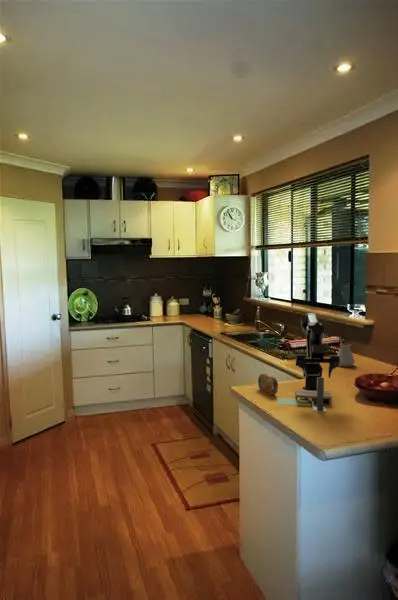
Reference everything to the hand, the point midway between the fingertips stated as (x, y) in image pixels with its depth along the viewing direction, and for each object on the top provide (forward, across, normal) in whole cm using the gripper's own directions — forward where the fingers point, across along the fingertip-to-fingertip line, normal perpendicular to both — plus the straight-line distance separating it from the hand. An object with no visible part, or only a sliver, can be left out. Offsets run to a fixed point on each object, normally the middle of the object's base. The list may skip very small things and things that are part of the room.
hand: (318, 377), depth 199 cm
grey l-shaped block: (+9, 0, +8) cm, 13 cm away
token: (+6, -5, +12) cm, 14 cm away
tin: (-3, -21, +21) cm, 30 cm away
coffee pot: (-51, +24, +68) cm, 89 cm away
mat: (+6, -10, +12) cm, 17 cm away
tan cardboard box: (+5, -2, +13) cm, 14 cm away
